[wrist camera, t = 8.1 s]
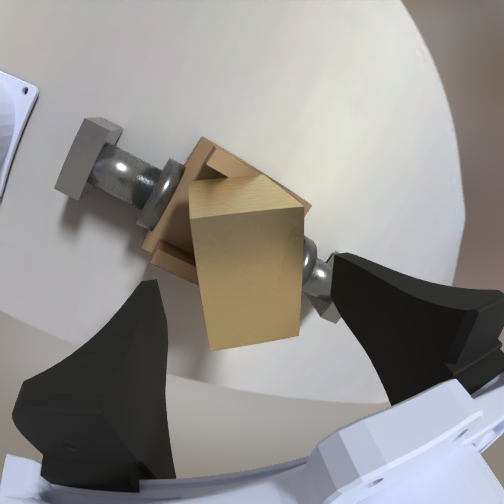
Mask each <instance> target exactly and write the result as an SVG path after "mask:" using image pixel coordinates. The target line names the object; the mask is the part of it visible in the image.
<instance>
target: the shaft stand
mask: <svg viewBox="0 0 504 504" xmlns="http://www.w3.org/2000/svg"><path fill="white" fill-rule="evenodd" d="M122 130H123V128H121V127H119V126H118V125H116V124H114V123H112V122H110V121H108V120H106V119H104V118H85V119H84V121H83V123H82V125H81V127H80V129H79V131H78V133H77V135H76V137H75V139H74V142H73V144H72V146H71V148H70V151H69V153H68V155H67V157H66V160H65V162H64V165H63V167H62V170H61V172H60V175H59V177H58V180H57V183H56V185H55V188H54V189H56V190H58V191H60V192H62V193H64V194H66V195H68V196H69V197H71V198H73V199H75V200H77V201H79V200H80V199H81V198H82V197H83V196H85V195H86V194H87V193H88V192H89V191H90V190H92V189H93V188H94V187H97V188H99V189H101V190H103V191H105V192H107V193H109V194H111V195H113V196H115V197H117V198H119V199H121V200H122V201H124V202H126V203H128V204H130V205H132V206H134V207H136V208H138V209H140V210H141V212H140V214H139V216H138V218H137V221H136V223H135V224H136V225H138V226H140V227H142V228H144V229H146V230H148V232H147V234H146V236H145V238H144V240H143V242H142V245H141V248H142V249H144V250H146V251H148V252H150V253H152V258H151V264H153V265H156V266H158V267H160V268H162V269H164V270H166V271H168V272H171V273H173V274H175V275H177V276H179V277H181V278H184V279H186V280H188V281H190V282H192V283H195V284H197V285H199V281H198V275H197V268H196V261H195V254H194V247H193V239H192V232H191V224H190V211H189V184H188V182H192V181H200V180H209V179H218V178H228V177H239V176H250V175H262V174H264V173H262V172H261V171H259V170H258V169H256V168H254V167H253V166H251V165H250V164H248V163H246V162H245V161H243V160H241V159H240V158H238V157H236V156H235V155H233V154H232V153H230V152H228V151H227V150H225V149H223V148H221V147H220V146H218V145H216V144H215V143H213V142H211V141H210V140H208V139H206V138H204V137H203V136H202V137H201V139H200V140H199V142H198V143H197V145H196V147H195V148H194V150H193V152H192V153H191V155H190V156H189V158H188V160H187V161H186V163H185V165H182V164H180V163H178V162H176V161H175V160H173V159H171V158H170V159H169V160H168V162H167V164H166V165H165V167H164V169H163V170H160V169H158V168H156V167H154V166H152V165H150V164H149V163H147V162H145V161H143V160H141V159H139V158H137V157H135V156H133V155H131V154H129V153H128V152H126V151H124V150H122V149H120V148H118V147H116V146H114V145H115V144H116V142H117V140H118V138H119V136H120V134H121V132H122ZM264 175H265V176H266V177H268V178H269V179H270V180H272V181H273V182H274V183H275V184H277V185H278V186H279V187H281V188H282V189H283V190H284V191H286V192H287V193H288V194H289V195H291V196H292V197H293V198H295V199H296V200H297V201H298V202H300V203H301V204H302V205H303V206H304V217H305V215H306V214H307V212H308V211H309V209H310V208H311V206H312V205H311V204H309V203H308V202H307V201H305V200H304V199H302V198H301V197H299V196H298V195H296V194H295V193H293V192H292V191H290V190H289V189H287V188H286V187H284V186H283V185H281V184H280V183H278V182H277V181H275V180H273V179H272V178H270V177H269V176H267V175H266V174H264ZM334 254H340V253H338V252H337V251H335V253H334ZM334 254H333V256H332V257H331V258H330V260H329V261H328V262H327V263H325V262H324V261H322V260H320V259H319V258H317V248H316V245H315V243H314V242H313V241H312V240H311V239H309V238H308V237H306V236H304V245H303V271H302V291H304V292H305V294H306V295H307V297H308V298H309V300H310V301H311V303H312V304H313V306H314V308H315V309H316V311H317V312H318V314H319V315H320V317H321V318H324V319H326V320H328V321H331V322H333V323H335V324H336V323H337V322H338V320H339V319H340V318H341V316H340V314H339V312H338V310H337V308H336V307H335V305H334V303H333V300H332V298H331V296H330V292H331V282H332V273H333V262H334Z"/></svg>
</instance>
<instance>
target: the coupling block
mask: <svg viewBox="0 0 504 504" xmlns="http://www.w3.org/2000/svg"><path fill="white" fill-rule="evenodd" d="M188 184H189V211H190V224H191V232H192V239H193V247H194V254H195V261H196V268H197V275H198V281H199V288H200V294H201V300H202V307H203V313H204V318H205V324H206V330H207V336H208V341H209V347H210V351H215V350H222V349H228V348H235V347H241V346H247V345H253V344H259V343H264V342H270V341H275V340H280V339H285V338H290V337H295V336H299V326H300V311H301V293H302V271H303V245H304V206H303V205H302V204H301V203H300V202H298V201H297V200H296V199H295V198H293V197H292V196H291V195H289V194H288V193H287V192H286V191H284V190H283V189H282V188H281V187H279V186H278V185H277V184H275V183H274V182H273V181H272V180H270V179H269V178H268V177H266V176H265V175H264V174H262V175H250V176H239V177H228V178H218V179H209V180H200V181H192V182H188Z"/></svg>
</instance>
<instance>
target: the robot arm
mask: <svg viewBox="0 0 504 504" xmlns="http://www.w3.org/2000/svg"><path fill="white" fill-rule="evenodd" d="M26 88H28V93H27V94H26V95H25V89H26ZM38 94H39V90H38V88H37V87H36V86H34V85H32V84H30V83H27V82H25V81H23V80H21V79H18V78H16V77H14V76H11V75H9V74H7V73H4V72H2V71H0V197H1V196H2V193H3V190H4V186H5V182H6V179H7V175H8V172H9V169H10V165H11V162H12V159H13V156H14V153H15V150H16V147H17V145H18V142H19V139H20V137H21V134H22V131H23V129H24V126H25V124H26V121H27V119H28V117H29V114H30V112H31V110H32V107H33V105H34V103H35V101H36V99H37V97H38ZM330 296H331V298H332V300H333V303H334V305H335V307H336V308H337V310H338V312H339V314H340V316H341V317H342V318H343V320H344V321H345V323H346V324H347V326H348V327H349V328H350V330H351V331H352V333H353V334H354V335H355V337H356V338H357V340H358V341H359V343H360V344H361V345H362V347H363V348H364V350H365V351H366V353H367V355H368V356H369V358H370V360H371V362H372V364H373V366H374V368H375V369H376V371H377V373H378V375H379V378H380V380H381V382H382V384H383V386H384V389H385V391H386V393H387V396H388V398H389V401H390V403H391V407H388V408H386V409H384V410H381V411H378V412H376V413H374V414H371V415H368V416H366V417H363V418H360V419H358V420H356V421H354V422H352V423H350V424H348V425H345V426H343V427H341V428H339V429H337V430H336V431H334V432H333V433H331V434H330V435H328V436H327V437H325V438H324V439H323V440H321V441H320V442H319V443H318V444H317V445H316V447H315V448H314V450H313V451H312V452H311V453H310V455H309V456H307V457H303V458H299V459H296V460H292V461H288V462H284V463H280V464H275V465H271V466H266V467H261V468H257V469H251V470H246V471H240V472H234V473H227V474H220V475H212V476H203V477H193V478H180V479H176V475H175V469H174V464H173V458H172V452H171V446H170V438H169V430H168V422H167V411H166V399H165V386H166V368H167V352H168V331H167V320H166V316H165V312H164V308H163V304H162V300H161V296H160V291H159V287H158V283H157V279H156V280H149V281H142V282H141V283H140V284H139V285H138V286H137V288H136V289H135V290H134V292H133V293H132V294H131V296H130V297H129V298H128V299H127V301H126V302H125V303H124V304H123V306H122V307H121V308H120V309H119V310H118V312H117V313H116V314H115V315H114V316H113V317H112V318H111V319H110V321H109V322H108V323H107V324H106V325H105V326H104V327H103V328H102V329H101V330H100V331H99V332H98V333H97V334H96V335H95V336H94V337H92V338H91V339H90V340H89V341H88V342H87V343H85V344H84V345H83V346H82V347H80V348H79V349H78V350H76V351H75V352H74V353H73V354H71V355H70V356H68V357H67V358H65V359H64V360H62V361H61V362H60V363H58V364H56V365H54V366H53V367H51V368H49V369H47V370H46V371H44V372H42V373H40V374H38V375H36V376H34V377H32V378H30V379H28V380H25V381H24V382H23V384H22V387H21V389H20V392H19V395H18V398H17V400H16V403H15V406H14V410H13V412H12V419H13V421H14V423H15V425H16V427H17V428H18V430H19V431H20V432H21V434H22V435H23V436H24V437H25V438H26V439H27V440H28V441H29V442H30V443H31V444H32V445H33V446H35V448H36V449H38V450H39V451H40V452H41V453H42V454H43V460H42V463H40V462H38V461H36V460H34V459H30V458H25V457H21V456H16V455H12V454H7V456H6V460H5V464H4V469H3V474H2V480H1V485H0V504H504V489H503V488H502V486H501V485H500V483H499V481H498V480H497V478H496V477H495V475H494V474H493V473H492V471H491V469H490V468H489V466H488V465H487V464H486V462H485V461H484V459H483V458H482V456H481V455H480V453H482V452H483V451H484V450H485V449H486V448H487V447H488V446H489V445H491V444H492V443H493V442H494V441H495V440H496V439H498V438H499V437H500V436H501V435H502V434H503V433H504V353H503V352H502V351H501V350H500V348H501V347H502V343H501V342H500V341H499V340H498V337H499V335H500V333H501V331H502V329H503V327H504V294H503V293H502V292H501V291H499V290H476V289H466V288H457V287H451V286H445V285H440V284H436V283H431V282H428V281H424V280H420V279H417V278H414V277H411V276H408V275H405V274H402V273H399V272H397V271H394V270H392V269H389V268H387V267H384V266H382V265H379V264H377V263H374V262H372V261H370V260H367V259H365V258H362V257H359V256H357V255H354V254H350V253H341V254H334V262H333V273H332V282H331V292H330Z"/></svg>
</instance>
